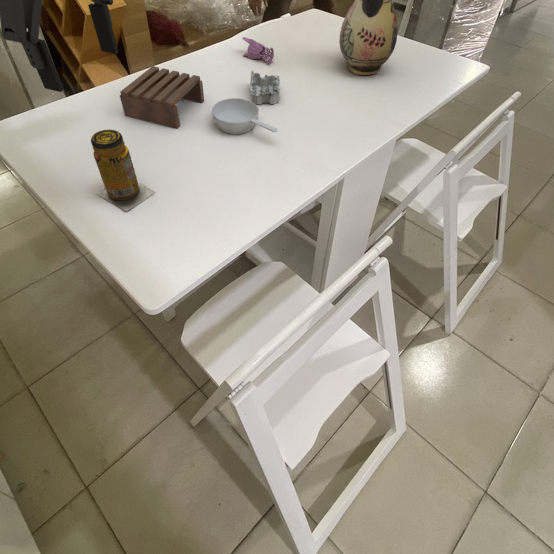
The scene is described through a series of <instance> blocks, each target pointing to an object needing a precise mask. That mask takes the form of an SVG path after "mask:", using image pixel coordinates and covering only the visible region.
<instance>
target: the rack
mask: <svg viewBox="0 0 554 554" xmlns="http://www.w3.org/2000/svg"><path fill="white" fill-rule="evenodd" d="M119 92H120V94H119V99H120V102H121V106H122V111H123V113H124V116H125V117H128V118H131V119H136V120H140V121H141V120H142V121H144V122H148V123H153V124H157V125H160V126H165V127H169V128H174V129H179V128H180V127H181V122H180V118H179V109H178V105H176V104H177V103H179V101H181V100H186V101H190V102H195V103H199V104H203V103H204V102H205V93H204V85H203V80H201V76H200V75H196V74H193V75H191V76H190V73H186V72H182V73H180V71H177V70H172V71H170V69H168V68H160V66H154V65H152V66H151V67H149V68H148V69H147V70H145V71H144V72H143V73H142V74H141V75H139V76H138V77H137V78H136V79H134V80H132V82H130V83H129V84H128V85H126V86H125V87H124V88H123V89H122V90H120V91H119Z"/></svg>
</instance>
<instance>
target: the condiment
mask: <svg viewBox="0 0 554 554" xmlns="http://www.w3.org/2000/svg"><path fill="white" fill-rule="evenodd" d="M125 143H126V142H125V141H124V137H123V134H122V133H120V131H118V130H115V129H111V128H110V129H102V130H98V131H97V132H95V133H93V135H91V138H90V144H91V146H92V150H93V158H94V161H95V163H96V166H97V169H98V172H99V175H100V177H101V179H102V182H103V183H102V184H103V185H104V188H103V189H101V190H100V191H98V192H97V193H96V195H98V196H100V197H101V198H103V199H104V200H106V201H108V202H110V203H111V204H113V205H115V206H117V207H118V208H120V209H122V210H123V211H125V212H128V211H130V210H132V209H133V208H135V207H136V206H138V205H139V204H141V203H142V202H144V201H146V200H147V198H149V197H151V196H152V195H153V194H155V193H156V191H155V190H153V189H151V188H150V187H147V186H146V185H144V184H142V183H140V182H139V181H138V177H137V174H136V171H135V170H136V169H135V167H134V163H133V160H132V156H131V153H130V150H129V147H127V145H126V144H125Z"/></svg>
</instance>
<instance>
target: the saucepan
mask: <svg viewBox="0 0 554 554" xmlns="http://www.w3.org/2000/svg"><path fill="white" fill-rule="evenodd" d="M259 112H260V110H259V107H258V104H256V103H253V102H252V100H248V99H245V98H239V97H237V98H236V97H235V98H234V97H233V98H226V99H222V100H219V101H218V102H216V103H215V104H214V105H213V106H212V108H211V114H212V118H213V121H214V123H215V124H216V126H217V127H218V128H219V129H220V130H221V132H224V133H227V134H230V135H242V134H246V133H248V132H250V131H251V130H253V128H254V127H255V126H258V127H261V128H263V129H266V130H268V131H270V132H272V133H277V132H278V131H279V129H278V128H277V127H274V126H273V125H270V124H267V123H265V122H263V121H260V120H258V119H259Z"/></svg>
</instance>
